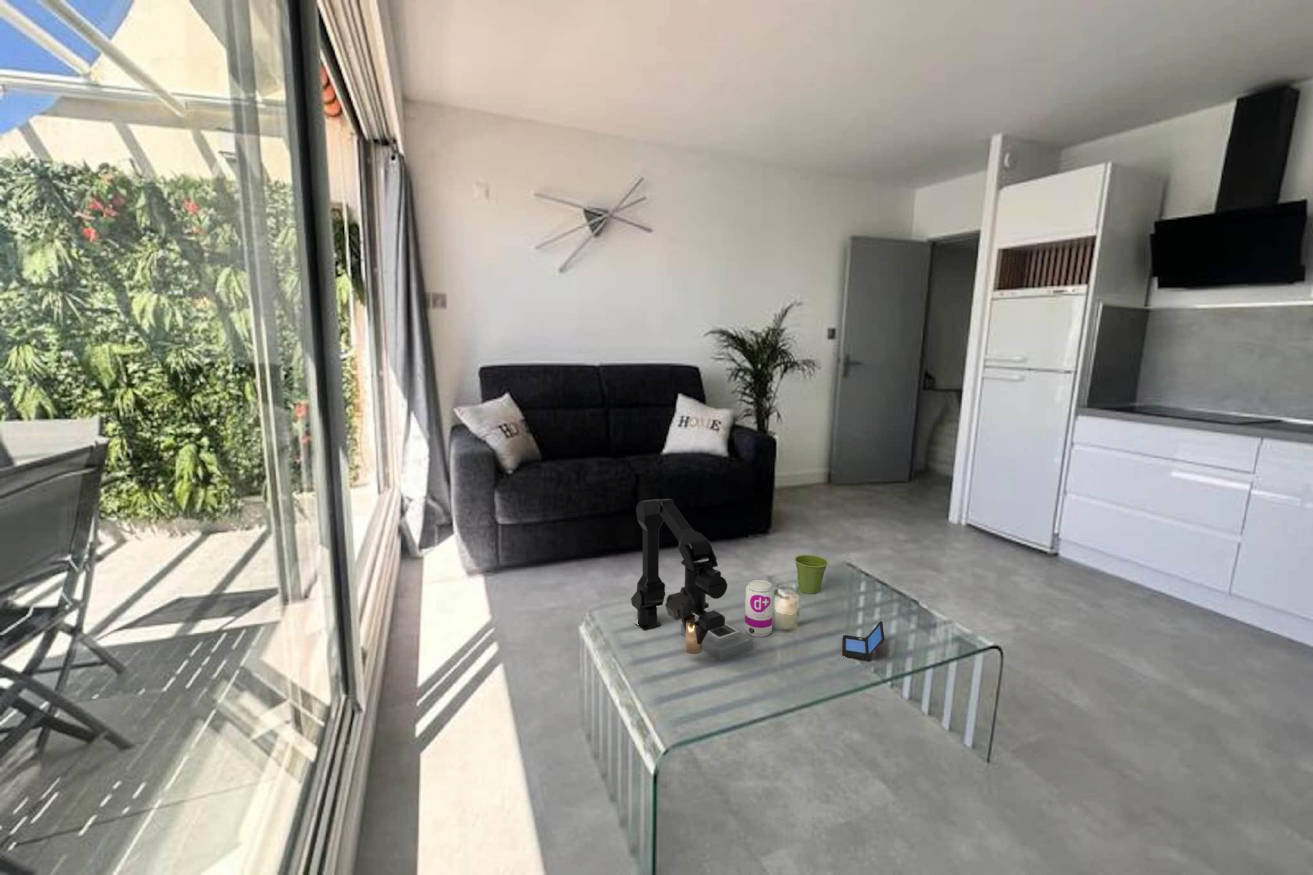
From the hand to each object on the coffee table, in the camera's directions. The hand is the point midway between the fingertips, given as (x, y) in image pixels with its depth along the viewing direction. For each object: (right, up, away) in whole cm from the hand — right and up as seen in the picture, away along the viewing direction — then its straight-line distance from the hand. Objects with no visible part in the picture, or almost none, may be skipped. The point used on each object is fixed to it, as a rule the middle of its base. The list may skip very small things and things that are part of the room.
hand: (693, 640), depth 156 cm
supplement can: (+21, -5, +20) cm, 29 cm away
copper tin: (0, -3, 0) cm, 3 cm away
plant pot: (+45, -1, +52) cm, 69 cm away
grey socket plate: (+7, -5, +13) cm, 16 cm away
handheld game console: (+49, -7, +10) cm, 50 cm away
